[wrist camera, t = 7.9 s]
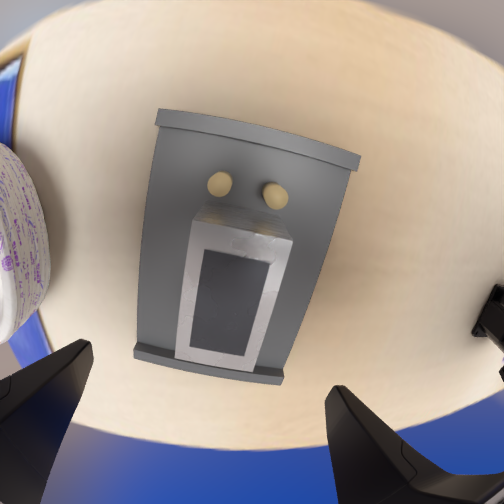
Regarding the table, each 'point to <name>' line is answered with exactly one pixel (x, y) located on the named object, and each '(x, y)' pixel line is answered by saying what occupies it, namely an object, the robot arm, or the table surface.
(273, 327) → the tray
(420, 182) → the table surface
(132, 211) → the table surface
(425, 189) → the table surface
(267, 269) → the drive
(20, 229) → the paper bowls
